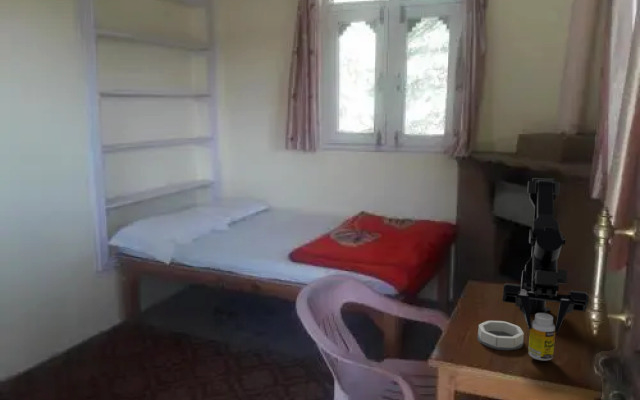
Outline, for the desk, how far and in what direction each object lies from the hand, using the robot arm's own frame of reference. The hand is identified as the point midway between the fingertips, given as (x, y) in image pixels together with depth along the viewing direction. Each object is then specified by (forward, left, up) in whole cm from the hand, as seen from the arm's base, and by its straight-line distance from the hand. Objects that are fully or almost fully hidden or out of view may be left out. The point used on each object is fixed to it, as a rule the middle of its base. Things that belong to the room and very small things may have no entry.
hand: (543, 330), depth 124 cm
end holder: (-3, -13, -8) cm, 15 cm away
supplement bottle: (-1, -1, -7) cm, 7 cm away
